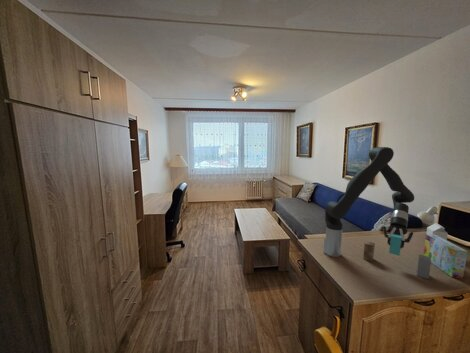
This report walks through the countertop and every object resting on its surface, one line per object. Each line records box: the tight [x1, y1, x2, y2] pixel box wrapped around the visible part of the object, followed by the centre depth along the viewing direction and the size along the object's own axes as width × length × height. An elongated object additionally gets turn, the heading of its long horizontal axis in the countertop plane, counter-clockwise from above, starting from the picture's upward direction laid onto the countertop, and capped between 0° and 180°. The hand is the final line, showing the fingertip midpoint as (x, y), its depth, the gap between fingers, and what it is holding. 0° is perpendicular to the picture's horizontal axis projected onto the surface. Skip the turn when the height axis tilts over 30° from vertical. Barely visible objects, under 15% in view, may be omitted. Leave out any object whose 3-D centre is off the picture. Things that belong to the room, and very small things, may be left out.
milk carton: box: [425, 222, 448, 241], centre depth 127 cm, size 7×7×19 cm
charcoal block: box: [416, 254, 432, 280], centre depth 104 cm, size 4×4×10 cm
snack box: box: [423, 234, 469, 279], centre depth 111 cm, size 21×6×15 cm, turn 168°
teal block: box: [388, 234, 402, 257], centre depth 111 cm, size 4×4×10 cm
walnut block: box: [362, 240, 376, 262], centre depth 120 cm, size 4×4×10 cm
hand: (395, 246), depth 110 cm, fingers closed on teal block, 4 cm apart
